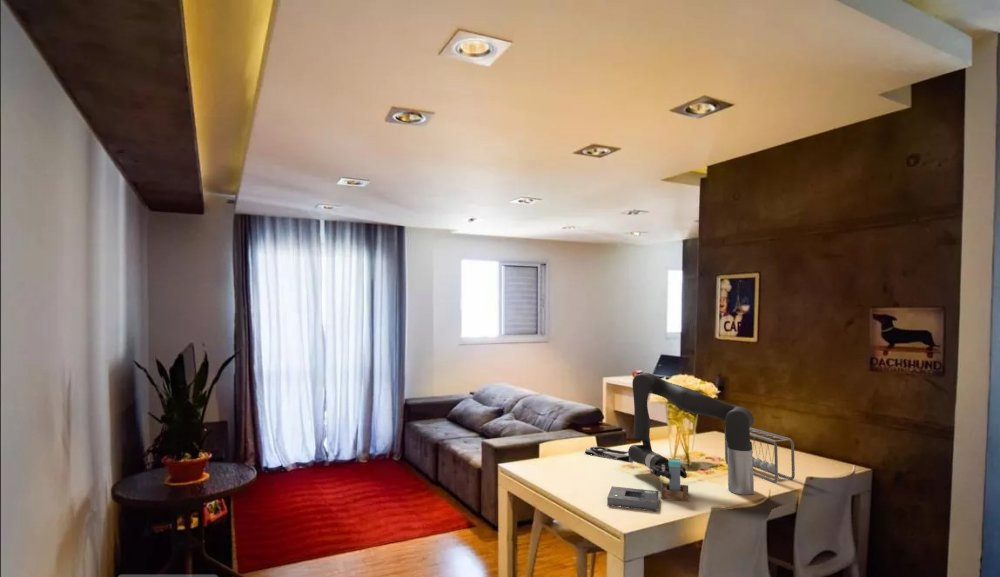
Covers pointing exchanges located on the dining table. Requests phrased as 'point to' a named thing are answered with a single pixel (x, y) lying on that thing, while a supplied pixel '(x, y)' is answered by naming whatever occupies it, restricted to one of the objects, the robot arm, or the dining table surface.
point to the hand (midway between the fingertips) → (677, 476)
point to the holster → (674, 493)
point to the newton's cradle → (764, 464)
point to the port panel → (633, 498)
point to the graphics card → (608, 453)
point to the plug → (674, 474)
